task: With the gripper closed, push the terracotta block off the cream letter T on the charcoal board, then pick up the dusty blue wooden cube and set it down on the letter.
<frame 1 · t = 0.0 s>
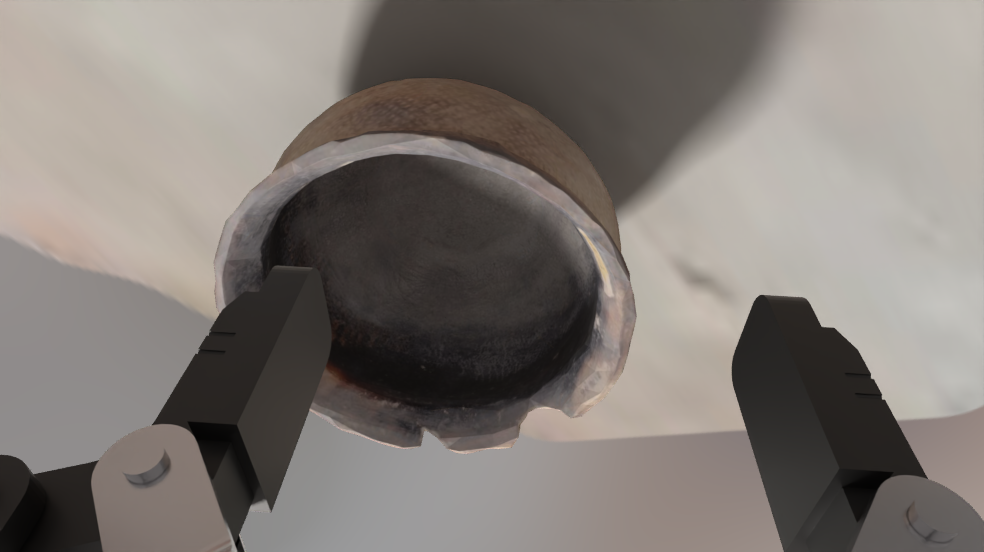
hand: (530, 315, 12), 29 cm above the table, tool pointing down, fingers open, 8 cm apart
ceramic bowl: (454, 185, 44), on the table
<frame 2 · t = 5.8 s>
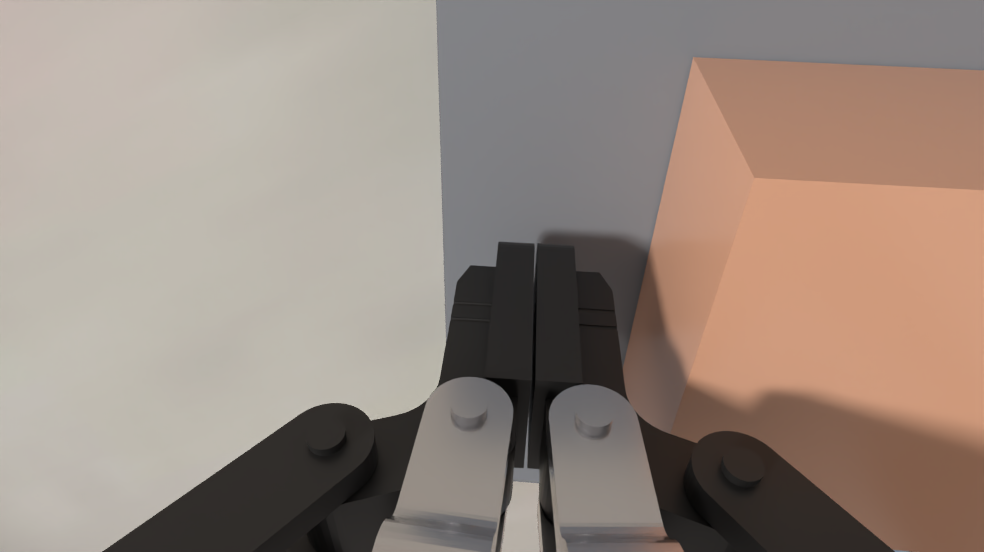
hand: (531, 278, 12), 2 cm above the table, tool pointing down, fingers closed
letter board: (905, 237, 13), on the table
terracotta block: (846, 260, 13), point 1 cm above the table, touching gripper
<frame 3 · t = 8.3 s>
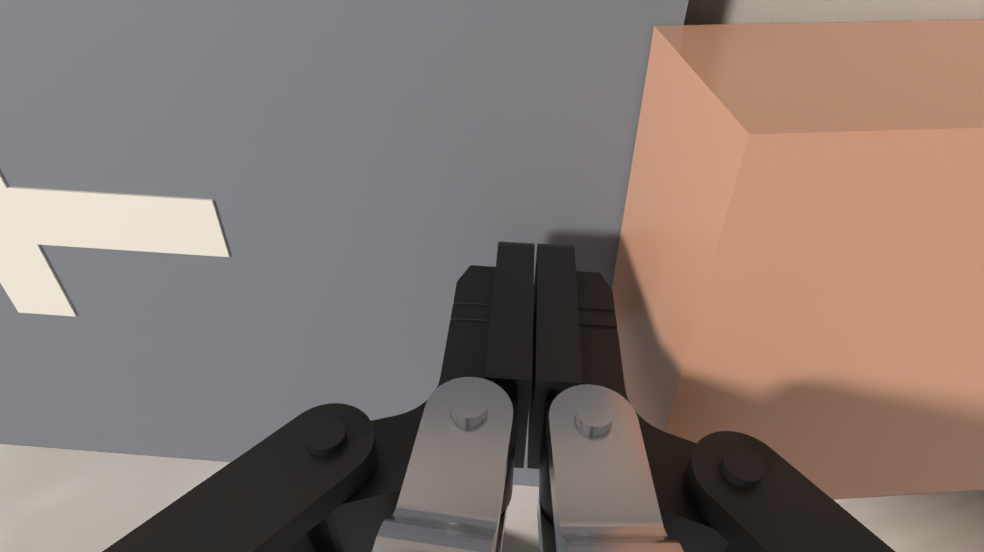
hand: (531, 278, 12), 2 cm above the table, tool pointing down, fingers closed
letter board: (197, 201, 14), on the table
terracotta block: (810, 219, 13), point 1 cm above the table, tilted 8°, touching gripper
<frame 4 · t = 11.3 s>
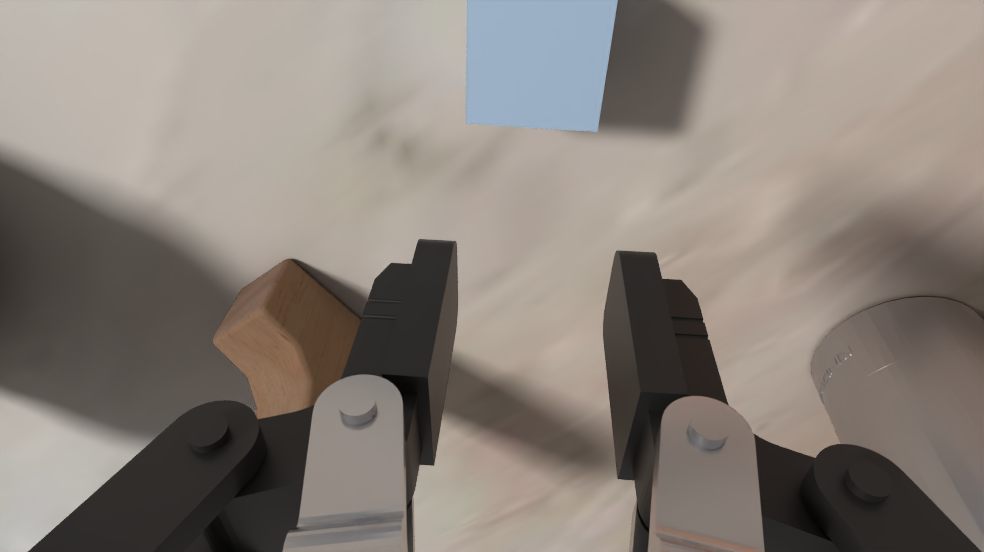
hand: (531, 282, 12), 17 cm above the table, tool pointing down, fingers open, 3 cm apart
wooden block: (322, 317, 38), on the table
blue cube: (537, 19, 26), on the table
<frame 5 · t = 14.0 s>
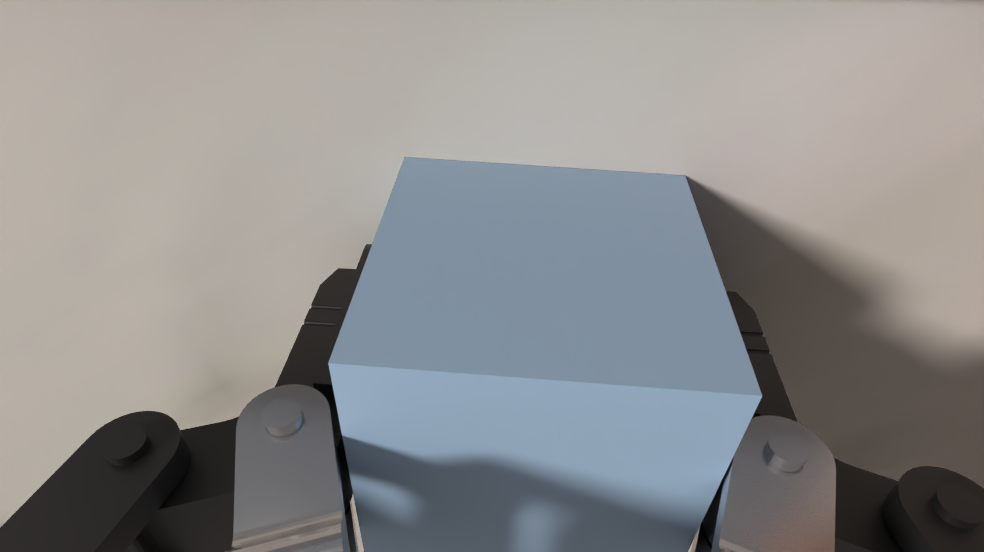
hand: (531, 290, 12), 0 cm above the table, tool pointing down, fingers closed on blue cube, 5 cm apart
blue cube: (532, 275, 13), on the table, touching gripper
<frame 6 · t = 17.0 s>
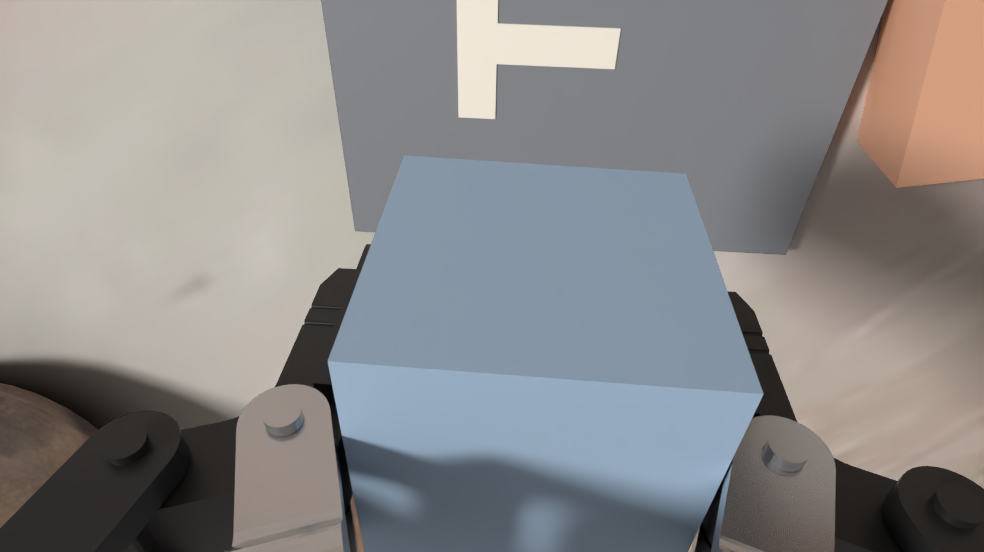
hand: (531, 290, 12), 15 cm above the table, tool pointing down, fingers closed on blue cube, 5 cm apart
letter board: (589, 38, 24), on the table
blue cube: (533, 273, 13), point 15 cm above the table, touching gripper
ceramic bowl: (38, 424, 43), on the table
when the fingers open (3 cm above the table, at t = 20.2 s): blue cube drops 1 cm, resting on letter board.
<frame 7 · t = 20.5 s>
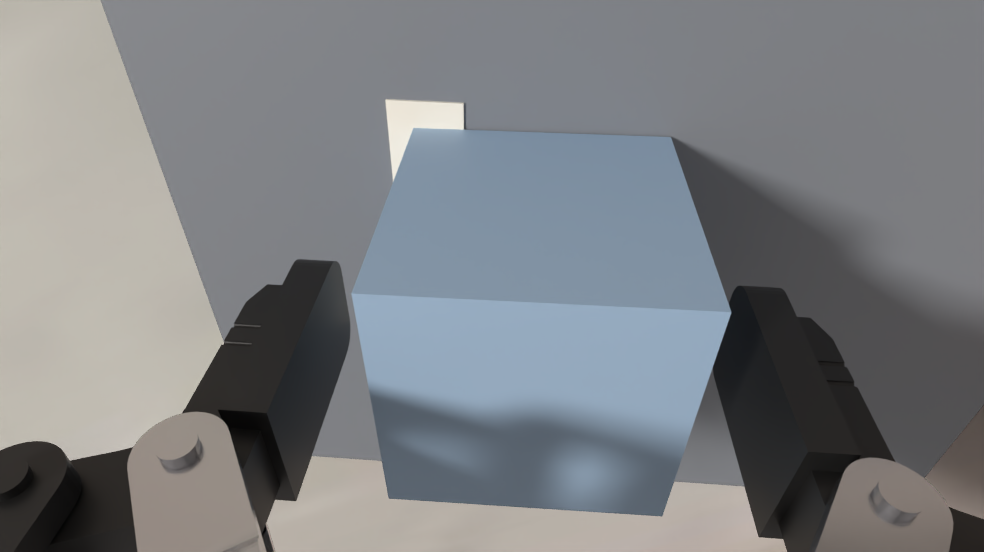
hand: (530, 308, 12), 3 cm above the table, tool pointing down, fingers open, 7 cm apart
letter board: (619, 215, 14), on the table
blue cube: (534, 237, 14), point 1 cm above the table, touching letter board
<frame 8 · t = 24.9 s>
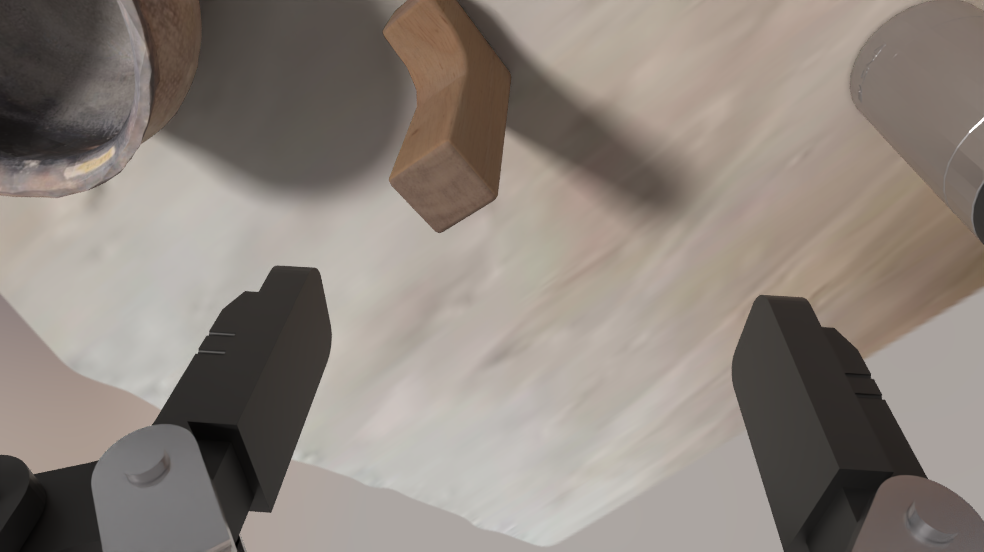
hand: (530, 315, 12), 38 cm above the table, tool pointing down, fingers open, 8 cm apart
wooden block: (454, 44, 47), on the table
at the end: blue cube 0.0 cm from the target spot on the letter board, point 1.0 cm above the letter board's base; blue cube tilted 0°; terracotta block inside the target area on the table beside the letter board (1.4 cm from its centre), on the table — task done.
